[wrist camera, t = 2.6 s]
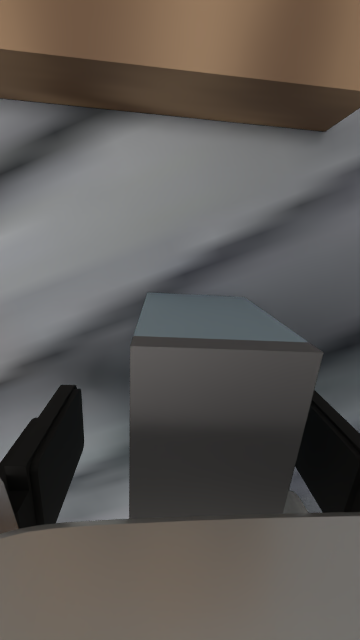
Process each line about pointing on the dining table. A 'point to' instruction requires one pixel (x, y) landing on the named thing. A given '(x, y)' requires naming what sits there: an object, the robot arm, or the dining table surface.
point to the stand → (187, 58)
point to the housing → (215, 407)
